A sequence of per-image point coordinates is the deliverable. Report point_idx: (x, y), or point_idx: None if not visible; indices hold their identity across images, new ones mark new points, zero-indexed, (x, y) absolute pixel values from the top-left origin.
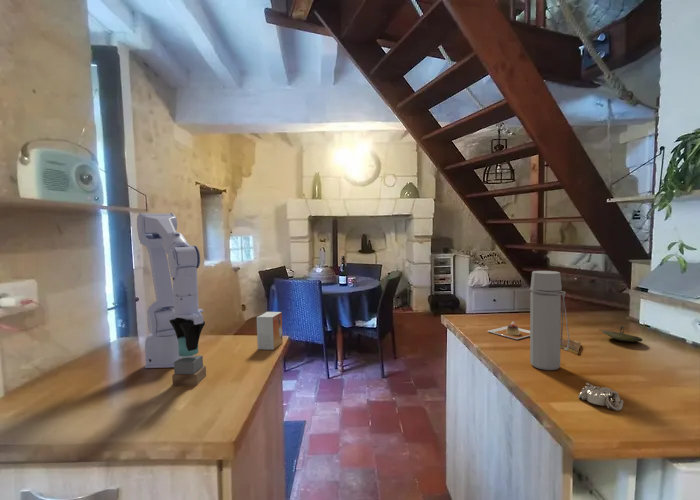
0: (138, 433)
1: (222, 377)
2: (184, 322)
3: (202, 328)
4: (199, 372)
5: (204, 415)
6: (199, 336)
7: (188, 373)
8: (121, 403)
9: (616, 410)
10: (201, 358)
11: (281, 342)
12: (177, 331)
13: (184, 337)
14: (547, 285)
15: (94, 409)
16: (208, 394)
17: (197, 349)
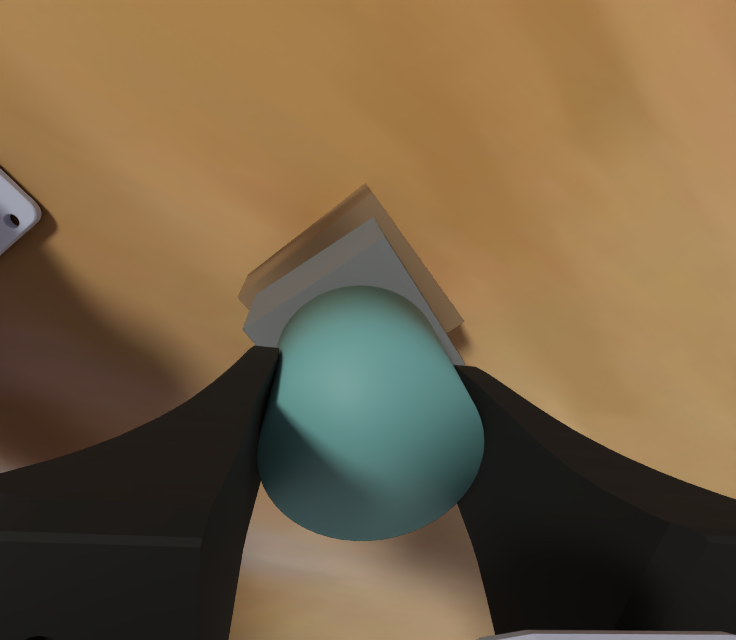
0: None
1: (485, 136)
2: (218, 621)
3: (690, 485)
4: (439, 286)
5: (716, 429)
6: (567, 428)
7: None
8: (332, 554)
9: None
10: (393, 250)
11: None
12: (237, 580)
13: (323, 474)
14: None
15: (302, 612)
16: (593, 324)
17: (434, 333)
